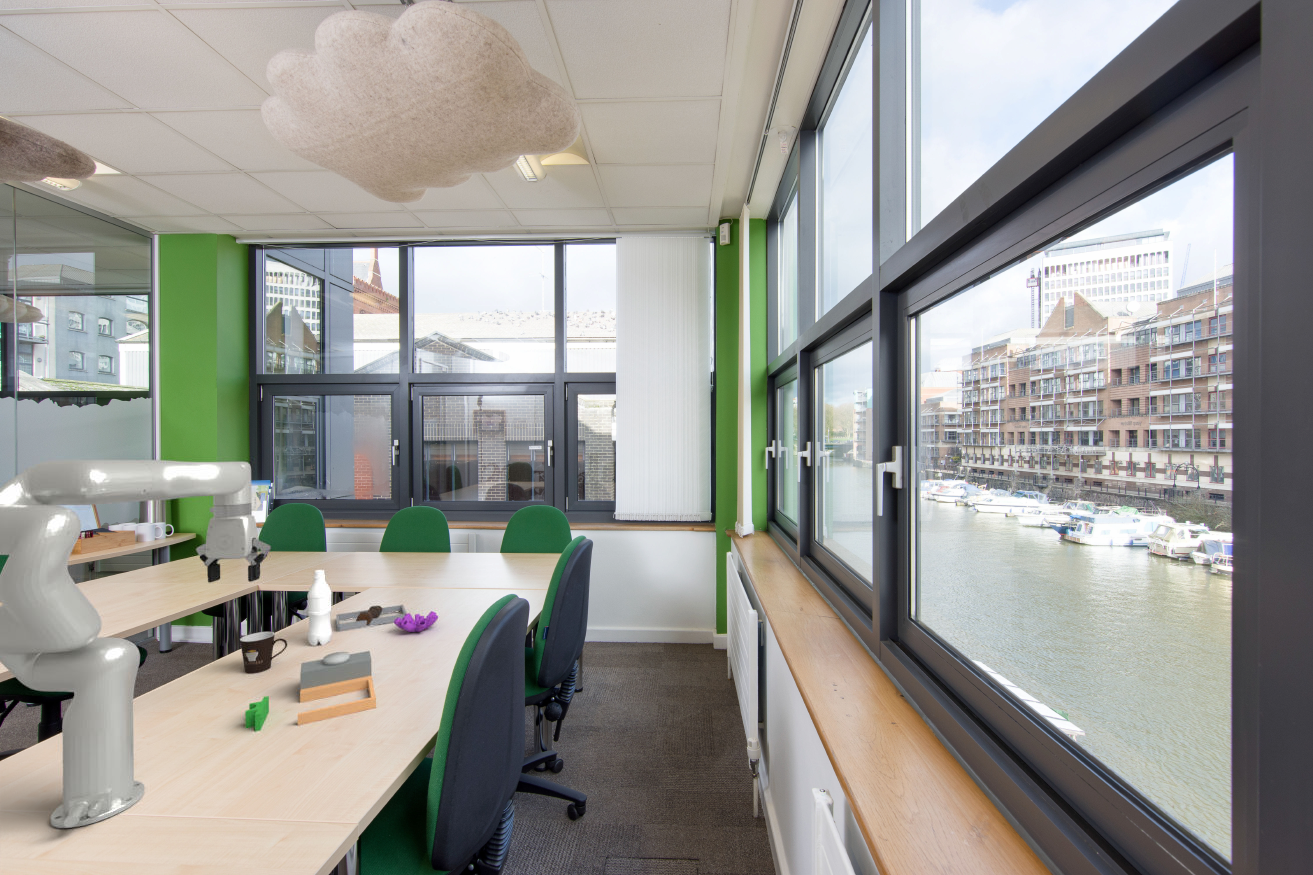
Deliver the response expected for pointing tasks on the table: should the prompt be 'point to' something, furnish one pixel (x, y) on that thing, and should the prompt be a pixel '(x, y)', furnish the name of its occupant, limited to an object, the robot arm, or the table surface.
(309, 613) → the water bottle
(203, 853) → the table surface
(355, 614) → the parts tray
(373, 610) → the brown lumpy elongated piece
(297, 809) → the table surface
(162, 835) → the table surface
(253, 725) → the pipe clamp
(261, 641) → the coffee mug
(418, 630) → the purple coral
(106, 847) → the table surface
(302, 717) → the orange and grey frame
